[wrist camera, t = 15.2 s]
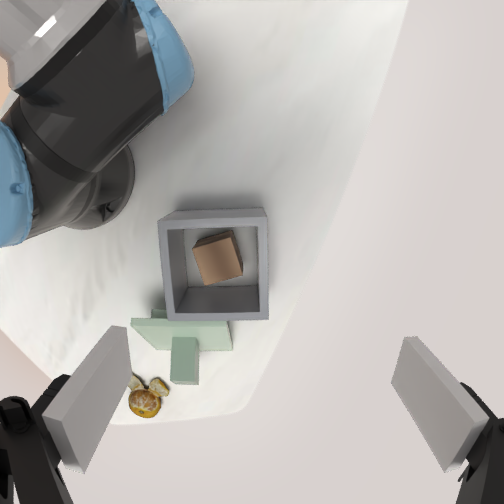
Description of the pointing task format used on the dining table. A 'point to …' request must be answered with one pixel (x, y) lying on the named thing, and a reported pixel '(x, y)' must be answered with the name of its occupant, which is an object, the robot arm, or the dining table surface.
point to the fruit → (146, 397)
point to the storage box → (212, 298)
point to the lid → (183, 342)
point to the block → (218, 258)
